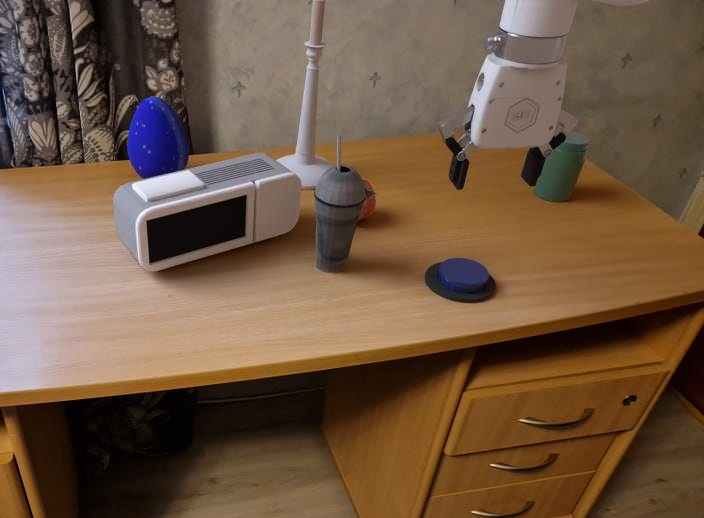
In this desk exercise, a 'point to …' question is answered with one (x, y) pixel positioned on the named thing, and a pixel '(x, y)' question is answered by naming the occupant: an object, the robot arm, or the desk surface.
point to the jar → (562, 169)
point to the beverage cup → (337, 214)
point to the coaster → (452, 295)
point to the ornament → (156, 140)
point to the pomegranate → (367, 201)
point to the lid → (463, 275)
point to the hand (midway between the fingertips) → (492, 183)
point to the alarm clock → (206, 210)
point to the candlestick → (310, 111)
